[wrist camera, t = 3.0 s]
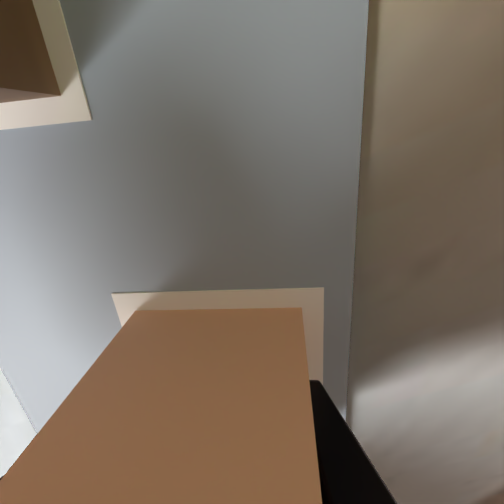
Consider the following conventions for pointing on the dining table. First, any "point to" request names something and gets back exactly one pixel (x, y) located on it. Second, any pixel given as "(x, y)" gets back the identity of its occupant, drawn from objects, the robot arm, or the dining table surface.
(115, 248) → the board
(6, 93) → the block
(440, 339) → the dining table surface
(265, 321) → the terracotta block
